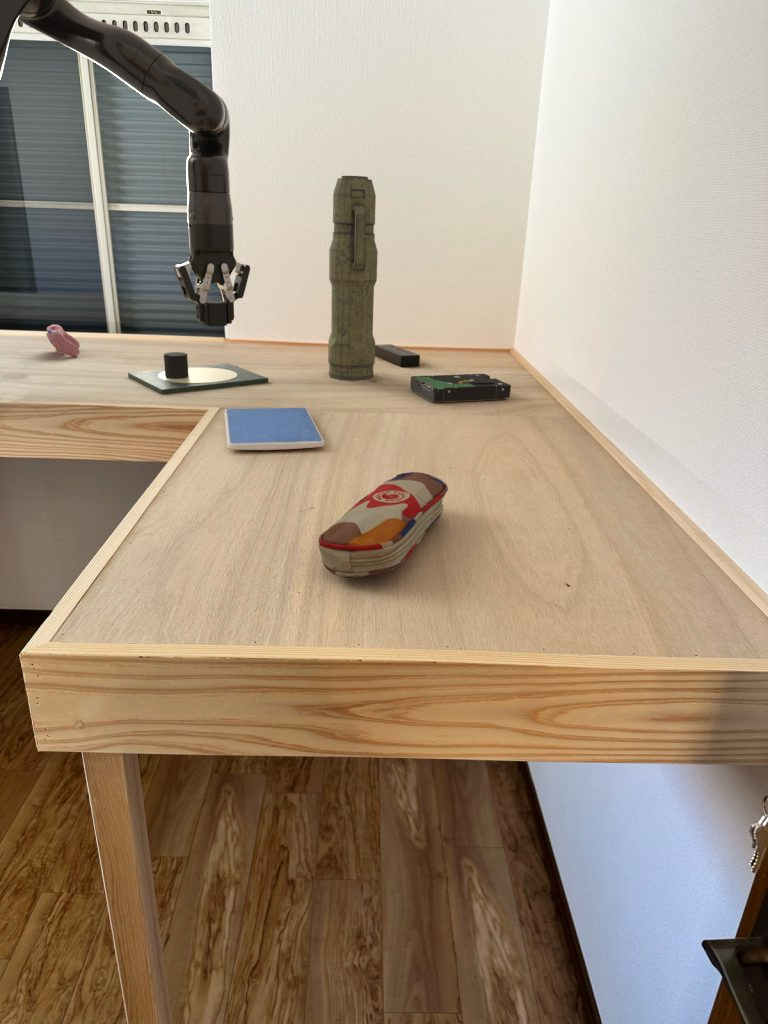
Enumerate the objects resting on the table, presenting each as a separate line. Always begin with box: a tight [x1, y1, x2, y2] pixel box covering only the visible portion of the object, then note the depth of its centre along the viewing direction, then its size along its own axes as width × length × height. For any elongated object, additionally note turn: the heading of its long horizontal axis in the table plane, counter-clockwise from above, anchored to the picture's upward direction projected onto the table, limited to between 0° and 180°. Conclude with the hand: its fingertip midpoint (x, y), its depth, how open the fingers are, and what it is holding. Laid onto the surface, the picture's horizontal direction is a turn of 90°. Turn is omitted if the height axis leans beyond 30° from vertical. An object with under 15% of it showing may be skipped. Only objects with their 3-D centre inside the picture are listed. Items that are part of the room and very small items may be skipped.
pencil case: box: [318, 471, 449, 580], centre depth 67 cm, size 11×20×5 cm, turn 146°
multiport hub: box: [375, 343, 421, 368], centre depth 157 cm, size 4×14×2 cm, turn 25°
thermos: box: [327, 175, 379, 381], centre depth 134 cm, size 9×12×35 cm
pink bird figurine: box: [45, 324, 81, 357], centre depth 151 cm, size 10×5×7 cm, turn 21°
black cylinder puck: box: [205, 300, 228, 328], centre depth 130 cm, size 4×4×4 cm
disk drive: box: [409, 373, 512, 403], centre depth 127 cm, size 10×3×15 cm
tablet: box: [223, 407, 326, 451], centre depth 101 cm, size 19×13×1 cm, turn 13°
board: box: [127, 363, 269, 395], centre depth 132 cm, size 20×16×1 cm
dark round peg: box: [163, 351, 189, 379], centre depth 129 cm, size 4×4×4 cm
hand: (215, 323), depth 131 cm, fingers closed on black cylinder puck, 4 cm apart
